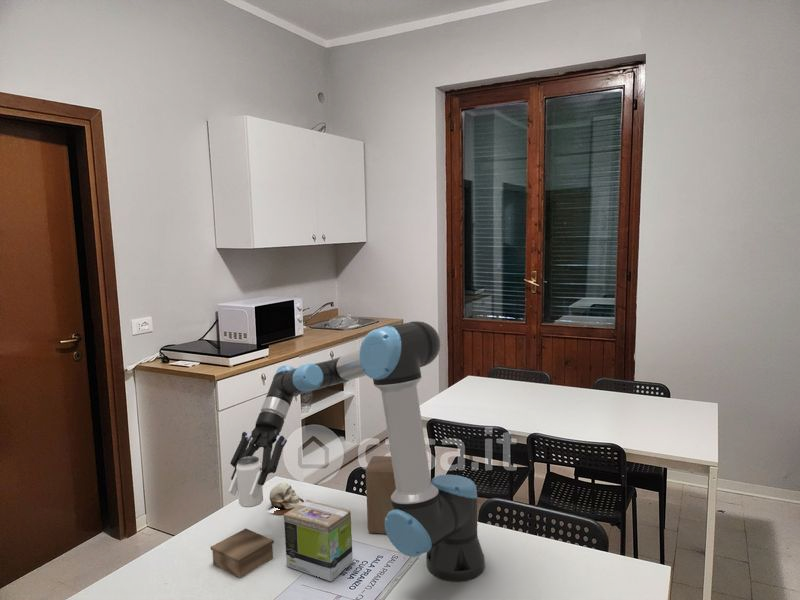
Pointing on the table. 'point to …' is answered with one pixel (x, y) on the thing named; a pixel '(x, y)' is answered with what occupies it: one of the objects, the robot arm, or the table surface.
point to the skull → (284, 498)
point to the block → (379, 492)
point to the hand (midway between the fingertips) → (242, 494)
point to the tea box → (318, 539)
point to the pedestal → (242, 552)
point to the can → (248, 481)
